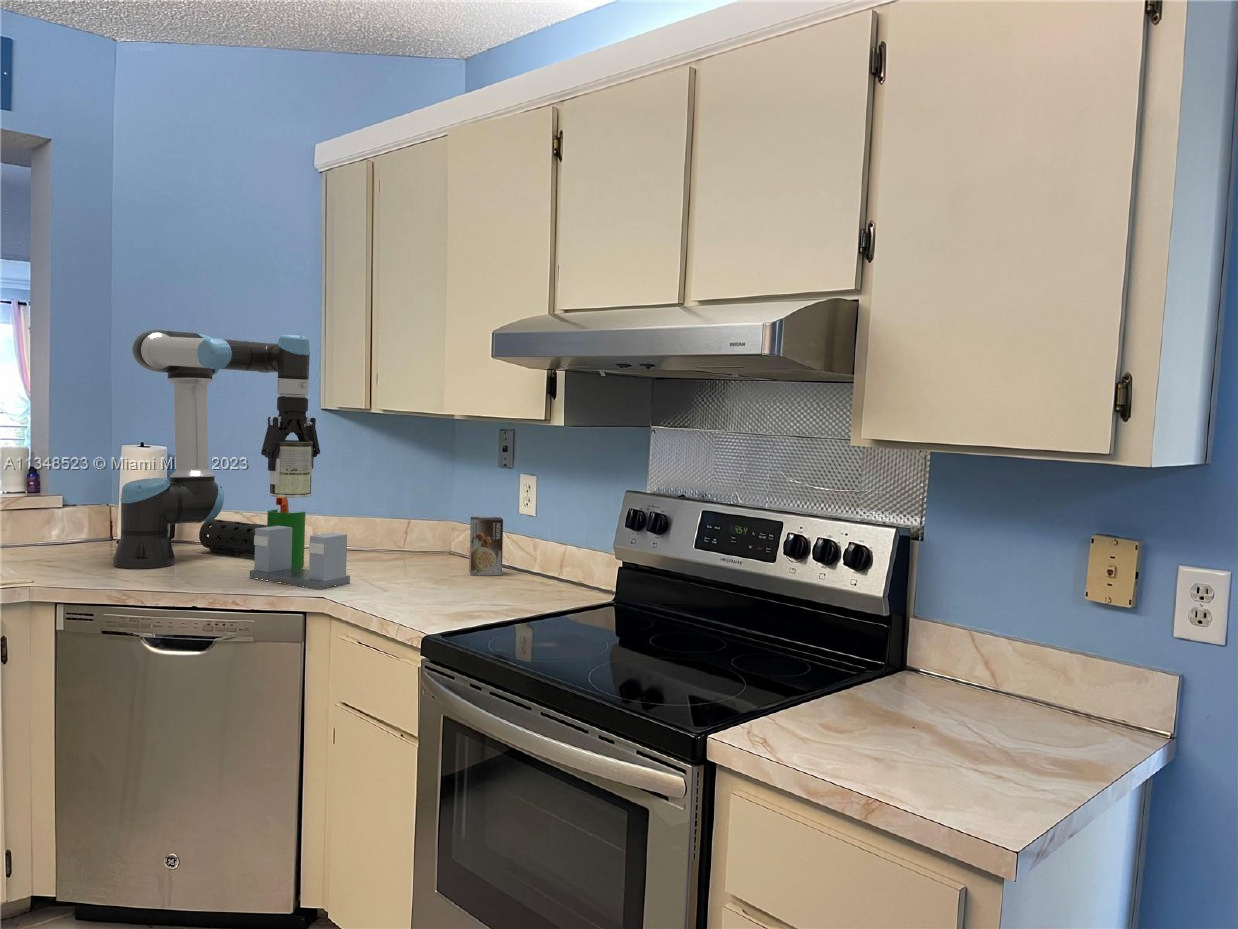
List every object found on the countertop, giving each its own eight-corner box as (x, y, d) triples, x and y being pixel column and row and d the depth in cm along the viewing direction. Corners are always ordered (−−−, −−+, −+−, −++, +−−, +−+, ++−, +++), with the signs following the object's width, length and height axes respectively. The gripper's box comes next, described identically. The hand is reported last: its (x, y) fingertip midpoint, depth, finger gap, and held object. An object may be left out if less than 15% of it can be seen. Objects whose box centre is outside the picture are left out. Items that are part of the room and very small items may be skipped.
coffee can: (260, 495, 238) (261, 439, 237) (292, 493, 247) (293, 439, 246) (288, 498, 233) (289, 442, 232) (320, 496, 242) (321, 441, 241)
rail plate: (249, 578, 245) (249, 570, 245) (281, 572, 255) (281, 565, 254) (319, 589, 234) (319, 582, 234) (349, 583, 244) (350, 575, 244)
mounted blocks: (252, 570, 245) (253, 528, 245) (277, 566, 253) (278, 525, 252) (322, 581, 235) (323, 538, 234) (346, 576, 243) (347, 534, 242)
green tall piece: (307, 564, 268) (309, 495, 267) (297, 570, 259) (298, 498, 258) (272, 563, 268) (273, 493, 267) (260, 568, 259) (262, 496, 258)
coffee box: (500, 571, 271) (502, 516, 270) (502, 576, 265) (504, 519, 264) (468, 571, 269) (470, 516, 268) (469, 575, 263) (471, 519, 262)
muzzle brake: (222, 550, 287) (222, 516, 287) (294, 559, 277) (295, 524, 276) (197, 553, 278) (198, 519, 278) (271, 563, 268) (272, 527, 267)
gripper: (268, 395, 227) (266, 486, 228) (336, 398, 247) (334, 481, 248) (246, 394, 230) (244, 484, 231) (315, 397, 250) (313, 479, 252)
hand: (290, 483), depth 240 cm, fingers closed on coffee can, 10 cm apart
